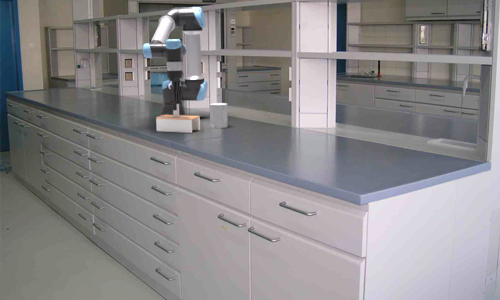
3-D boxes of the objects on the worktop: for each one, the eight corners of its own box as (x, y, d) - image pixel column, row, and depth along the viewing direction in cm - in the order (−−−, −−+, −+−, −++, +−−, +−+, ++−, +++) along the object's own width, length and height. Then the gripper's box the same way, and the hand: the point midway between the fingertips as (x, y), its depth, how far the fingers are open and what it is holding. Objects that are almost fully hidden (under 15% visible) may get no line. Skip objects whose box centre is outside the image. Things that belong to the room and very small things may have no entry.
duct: (166, 128, 294) (165, 116, 292) (199, 129, 286) (199, 117, 285) (156, 131, 284) (156, 118, 283) (191, 132, 277) (190, 120, 276)
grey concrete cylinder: (216, 128, 290) (215, 105, 288) (206, 126, 298) (206, 103, 295) (231, 126, 295) (230, 104, 293) (221, 124, 303) (220, 102, 301)
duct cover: (165, 116, 292) (165, 114, 292) (199, 117, 285) (199, 115, 285) (156, 118, 283) (156, 116, 283) (190, 120, 276) (190, 117, 276)
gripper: (174, 69, 285) (176, 114, 290) (161, 70, 273) (163, 117, 278) (187, 69, 282) (188, 115, 287) (174, 71, 270) (176, 118, 275)
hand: (176, 116), depth 282 cm, fingers closed
